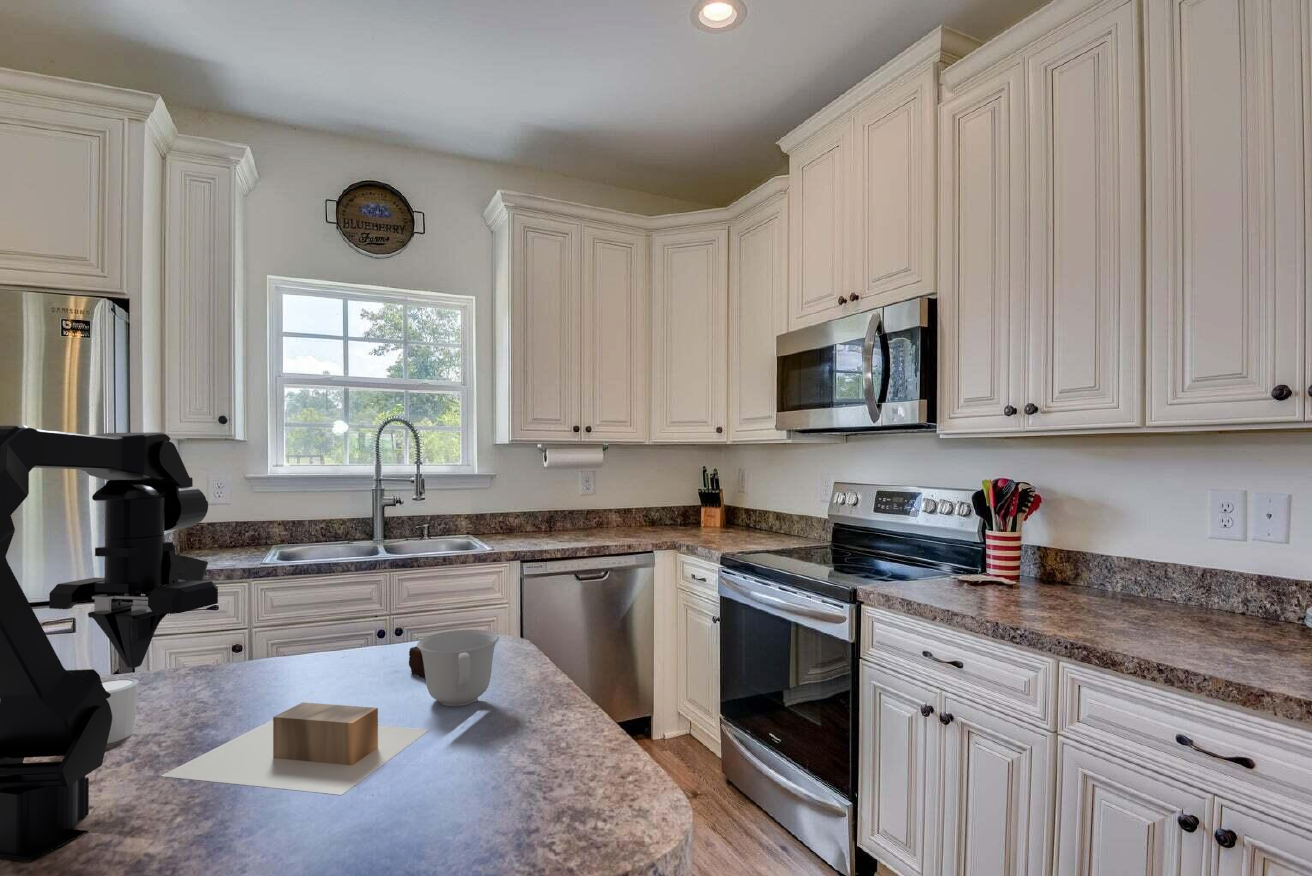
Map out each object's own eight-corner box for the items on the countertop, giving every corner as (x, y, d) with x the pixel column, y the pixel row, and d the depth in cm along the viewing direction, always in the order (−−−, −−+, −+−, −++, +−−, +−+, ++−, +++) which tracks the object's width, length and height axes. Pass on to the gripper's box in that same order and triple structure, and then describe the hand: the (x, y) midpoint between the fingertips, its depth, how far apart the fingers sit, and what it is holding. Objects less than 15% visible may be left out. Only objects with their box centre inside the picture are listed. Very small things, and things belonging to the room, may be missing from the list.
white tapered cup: (102, 749, 89) (103, 695, 89) (60, 746, 90) (61, 692, 91) (151, 729, 96) (151, 678, 96) (111, 725, 97) (111, 676, 97)
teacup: (420, 734, 92) (419, 660, 93) (415, 698, 106) (414, 634, 106) (509, 720, 97) (508, 649, 97) (493, 688, 111) (493, 626, 111)
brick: (408, 674, 119) (408, 647, 119) (428, 668, 122) (427, 642, 122) (444, 687, 112) (444, 658, 112) (464, 680, 115) (464, 652, 115)
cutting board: (341, 804, 74) (341, 794, 74) (160, 784, 79) (160, 776, 79) (430, 736, 92) (430, 729, 92) (277, 724, 97) (277, 717, 97)
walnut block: (273, 758, 83) (352, 765, 81) (273, 717, 84) (352, 723, 81) (302, 741, 88) (377, 747, 86) (302, 702, 88) (377, 707, 86)
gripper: (254, 529, 88) (253, 651, 87) (136, 528, 92) (135, 645, 91) (176, 540, 77) (175, 679, 76) (46, 538, 81) (45, 671, 80)
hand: (134, 667), depth 81 cm, fingers closed
